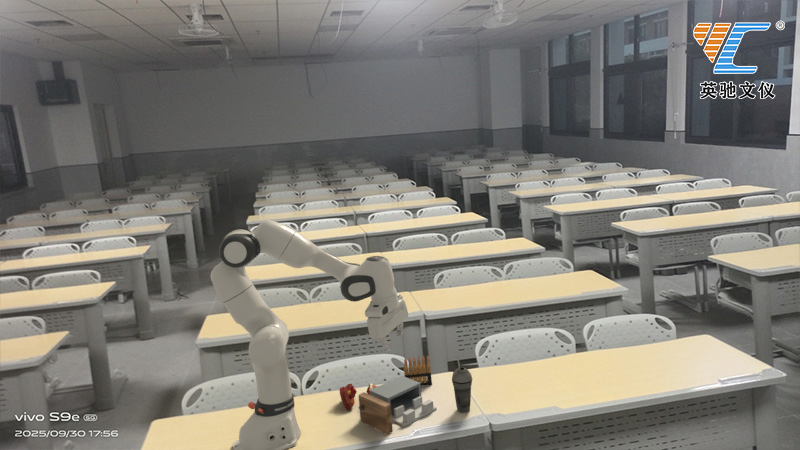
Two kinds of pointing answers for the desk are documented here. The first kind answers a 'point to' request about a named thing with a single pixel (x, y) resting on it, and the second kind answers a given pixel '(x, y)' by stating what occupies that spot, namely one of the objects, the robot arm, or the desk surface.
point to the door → (375, 413)
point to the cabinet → (403, 400)
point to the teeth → (351, 395)
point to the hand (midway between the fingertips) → (393, 341)
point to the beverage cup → (462, 388)
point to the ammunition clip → (421, 373)
